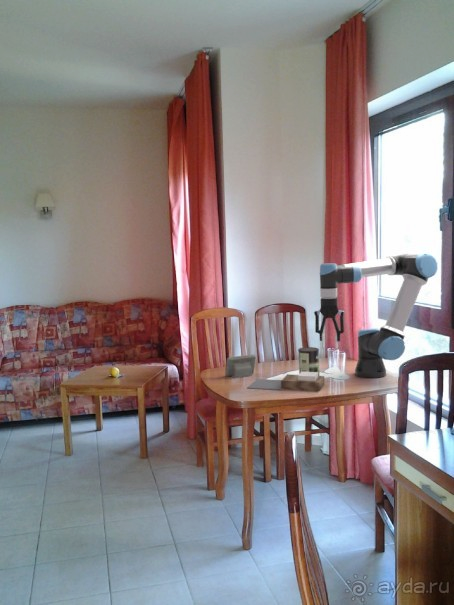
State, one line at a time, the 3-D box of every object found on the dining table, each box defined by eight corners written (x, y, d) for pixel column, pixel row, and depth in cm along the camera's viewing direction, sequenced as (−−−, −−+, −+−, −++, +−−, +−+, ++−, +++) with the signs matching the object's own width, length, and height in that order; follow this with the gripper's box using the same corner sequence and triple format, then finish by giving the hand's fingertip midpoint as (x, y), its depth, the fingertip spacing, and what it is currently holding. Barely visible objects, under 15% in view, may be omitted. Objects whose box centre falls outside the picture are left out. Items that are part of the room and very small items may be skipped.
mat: (288, 381, 259) (288, 380, 259) (280, 390, 244) (280, 389, 244) (257, 379, 264) (257, 378, 264) (247, 388, 249) (247, 387, 249)
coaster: (318, 376, 249) (318, 372, 249) (315, 381, 242) (314, 376, 241) (301, 376, 252) (301, 371, 252) (297, 380, 244) (297, 375, 244)
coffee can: (319, 374, 270) (319, 347, 268) (319, 379, 260) (318, 351, 258) (299, 374, 272) (298, 347, 271) (298, 379, 262) (297, 351, 261)
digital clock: (254, 372, 280) (253, 352, 279) (258, 376, 271) (257, 356, 270) (224, 374, 278) (223, 354, 276) (227, 378, 269) (226, 358, 268)
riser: (324, 384, 250) (324, 376, 250) (319, 391, 239) (319, 382, 239) (287, 382, 257) (287, 374, 256) (281, 389, 246) (281, 380, 245)
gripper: (350, 296, 239) (351, 347, 242) (310, 296, 246) (311, 346, 248) (348, 298, 232) (349, 350, 235) (307, 298, 239) (308, 349, 241)
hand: (330, 348), depth 241 cm, fingers open, 5 cm apart
